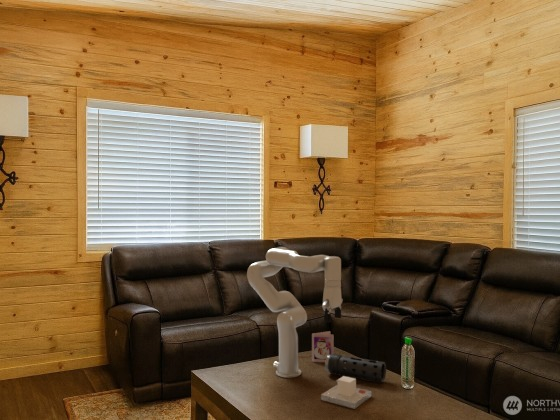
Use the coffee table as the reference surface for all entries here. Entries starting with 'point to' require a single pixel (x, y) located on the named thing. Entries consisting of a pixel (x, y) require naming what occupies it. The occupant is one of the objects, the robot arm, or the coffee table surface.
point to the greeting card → (322, 346)
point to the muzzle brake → (356, 367)
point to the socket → (346, 397)
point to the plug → (346, 386)
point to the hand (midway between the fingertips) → (332, 319)
